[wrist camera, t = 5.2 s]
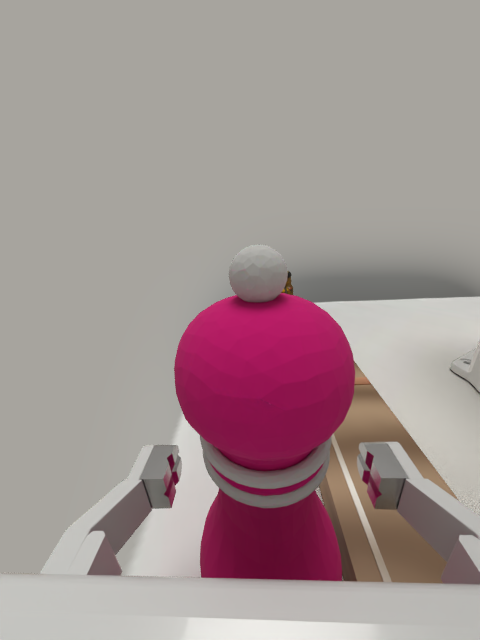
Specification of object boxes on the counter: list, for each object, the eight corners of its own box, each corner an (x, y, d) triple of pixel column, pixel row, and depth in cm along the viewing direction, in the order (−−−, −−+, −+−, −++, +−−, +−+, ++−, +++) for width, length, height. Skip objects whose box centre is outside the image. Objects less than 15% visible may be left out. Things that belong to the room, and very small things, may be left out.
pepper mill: (352, 578, 15) (423, 231, 7) (296, 773, 10) (342, 283, 2) (257, 501, 19) (240, 237, 12) (184, 605, 14) (75, 258, 7)
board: (290, 374, 34) (290, 355, 33) (347, 372, 34) (349, 353, 33) (409, 834, 8) (429, 822, 7) (660, 858, 8) (724, 848, 7)
